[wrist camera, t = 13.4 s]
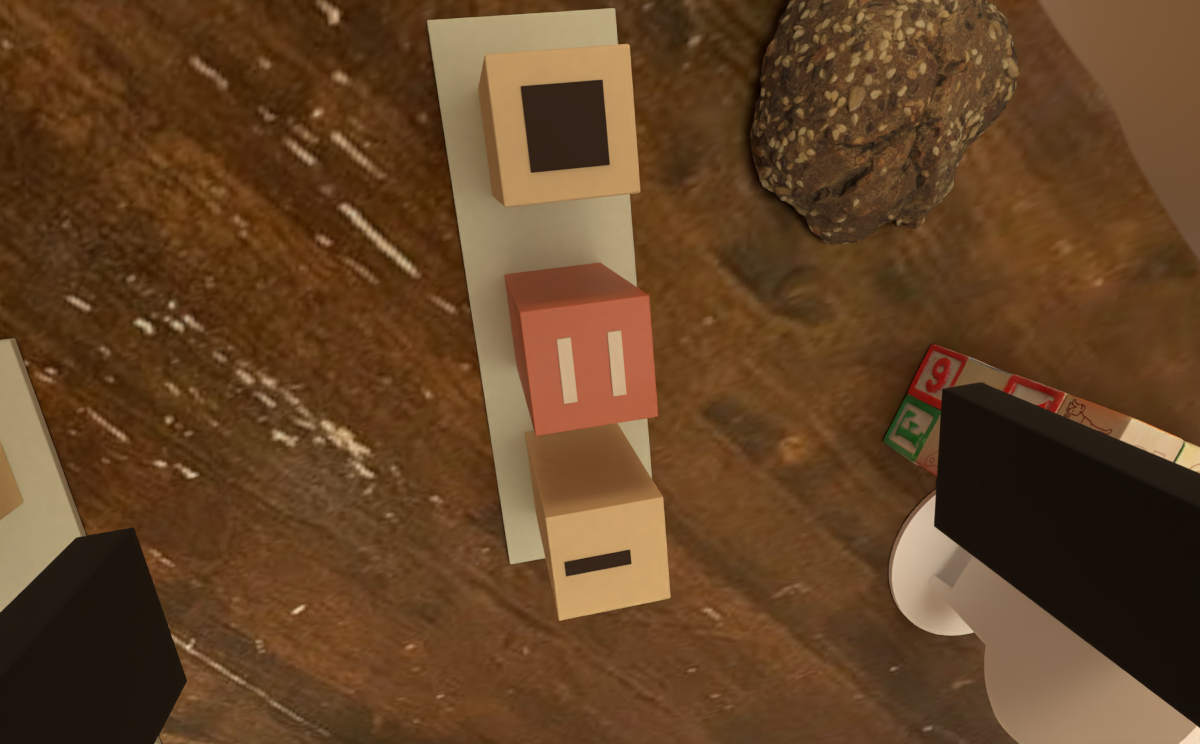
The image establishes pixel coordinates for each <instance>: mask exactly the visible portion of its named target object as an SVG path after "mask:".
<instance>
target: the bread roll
mask: <svg viewBox="0 0 1200 744" xmlns="http://www.w3.org/2000/svg"><path fill="white" fill-rule="evenodd" d="M1014 44H1015V43H1014V41H1013V40H1012V36H1011V35H1010V34H1009V32H1008V27H1007V18H1006V17H1005V16H1004V15H1003V14H1002V13H1001V12H999V11H997V10H996V7H995V6H994V5H993V4H992V3H991V4H987V0H788V6H787V8H786V10H785V12H784V14H783V15H782V16H781V18H780V19H779V26H778V28H777V31H776V33H775V36H774V38H773V40H772V42H771V43H770V44H769V45H768V47H767V50H766V53H765V55H764V58H763V64H762V69H761V74H762V75H761V78H760V82H761V90H760V97H759V99H758V101H757V102H756V104H755V111H754V121H753V124H752V128H751V133H750V143H751V150H752V156H753V162H754V165H755V167H756V170H757V173H758V176H759V179H760V182H761V184H762V186H763V187H764V188H766V189H768V190H769V191H771V192H773V193H774V194H775V195H776V196H777V197H778V198H779V199H780V200H781V201H785V202H786V203H788V204H790V205H791V206H793V208H794V209H795V210H796V211H797V213H798V214H800V215H802V216H804V217H805V219H806V221H807V224H808V226H809V228H810V230H811V231H812V232H813V233H814V234H815V235H817V236H818V237H819V238H820V239H821V240H822V241H824V242H825V243H829V244H831V243H839V244H847V243H850V242H859V241H861V240H862V239H864V238H865V237H866V236H868V235H870V234H872V233H874V232H875V231H876V230H877V229H878V228H880V227H881V226H883V225H884V224H886V223H889V222H891V221H892V222H893V223H894V224H895V226H899V225H904V226H906V227H908V228H913V229H916V228H917V227H919V226H920V225H921V224H922V223H924V220H925V217H926V216H927V214H928V213H929V211H930V210H931V209H933V207H934V206H935V205H937V204H939V203H940V202H942V199H943V197H945V196H946V195H947V194H948V193H949V192H950V191H951V189H952V187H953V186H954V177H955V173H956V169H957V167H958V165H959V163H960V162H961V161H962V156H963V153H964V151H965V150H966V149H967V148H968V147H969V146H970V145H971V144H972V143H973V142H974V141H975V140H977V139H978V138H979V137H980V136H981V135H982V134H983V133H984V132H985V131H986V129H987V128H988V127H989V126H990V125H991V124H992V123H993V122H994V121H995V120H996V119H997V118H998V117H999V116H1000V114H1001V112H1002V111H1003V110H1004V109H1005V108H1006V104H1007V102H1008V100H1010V98H1011V96H1012V95H1013V93H1014V91H1015V88H1016V82H1017V77H1018V76H1019V74H1020V73H1019V71H1018V63H1017V50H1016V49H1015V48H1014Z"/></svg>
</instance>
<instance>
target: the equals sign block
mask: <svg viewBox="0 0 1200 744" xmlns="http://www.w3.org/2000/svg"><path fill="white" fill-rule="evenodd" d="M504 277H505V285H506V292H507V299H508V307H509V314H510V321H511V329H512V336H513V343H514V351H515V358H516V365H517V370H518V374H519V377H520V381H521V385H522V388H523V392H524V396H525V399H526V403H527V407H528V410H529V414H530V417H531V421H532V425H533V428H534V432H535V435H536V436H540V435H546V434H552V433H558V432H565V431H571V430H577V429H583V428H590V427H596V426H602V425H608V424H615V423H621V422H627V421H633V420H640V419H646V418H652V417H658V406H657V393H656V379H655V365H654V352H653V338H652V324H651V311H650V297H649V295H648V294H646V293H645V292H643V291H642V290H640V289H639V288H637V287H636V286H635V285H633V284H632V283H630V282H629V281H627V280H626V279H624V278H623V277H621V276H620V275H618V274H617V273H615V272H614V271H612V270H611V269H609V268H608V267H606V266H605V265H603V264H602V263H592V264H584V265H576V266H568V267H559V268H551V269H543V270H535V271H527V272H519V273H511V274H505V275H504Z"/></svg>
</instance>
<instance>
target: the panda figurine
mask: <svg viewBox="0 0 1200 744" xmlns="http://www.w3.org/2000/svg"><path fill="white" fill-rule="evenodd" d="M935 499H936V489H935V490H934V491H933V492H931V493H930V494H929V495H928V496H927V497H926V498H925V499H923V500H922V501H921V502H920V503H919V505H918V506H917V507H916V508H915V509H914V510H913V511H912V513H911V514H910V515H909V517H908V518H907V519H906V521H905V523H904V524H903V526H902V527H901V529H900V531H899V533H898V535H897V538H896V540H895V542H894V545H893V548H892V552H891V556H890V561H889V585H890V589H891V593H892V596H893V599H894V601H895V603H896V605H897V606H898V608H899V609H900V611H901V612H902V613H903V614H904V615H905V616H906V617H907V618H908V619H909V620H910V621H911V622H912V623H913V624H915V625H916V626H918V627H919V628H921V629H923V630H925V631H928V632H931V633H935V634H939V635H951V636H953V635H964V634H969V633H973V632H974V633H975V634H976V635H977V636H978V637H979V638H980V639H981V641H982V642H983V643H984V644H985V646H986V649H985V658H984V675H985V683H986V689H987V693H988V697H989V700H990V703H991V706H992V709H993V711H994V714H995V716H996V718H997V720H998V722H999V723H1000V724H1001V726H1002V727H1003V728H1004V729H1005V731H1006V732H1007V733H1008V734H1009V735H1010V736H1011V737H1012V738H1013V739H1015V740H1016V741H1017V742H1018V743H1019V744H1200V728H1199V727H1198V726H1197V725H1195V724H1194V723H1193V722H1191V721H1190V720H1189V719H1187V718H1186V717H1185V716H1183V715H1182V714H1181V713H1179V712H1178V711H1177V710H1175V709H1174V708H1173V707H1172V706H1170V705H1169V704H1168V703H1166V702H1165V701H1164V700H1162V699H1161V698H1160V697H1158V696H1157V695H1156V694H1154V693H1153V692H1152V691H1150V690H1149V689H1148V688H1146V687H1145V686H1144V685H1143V684H1141V683H1140V682H1139V681H1137V680H1136V679H1135V678H1133V677H1132V676H1131V675H1129V674H1128V673H1127V672H1125V671H1124V670H1123V669H1121V668H1120V667H1119V666H1117V665H1116V664H1115V663H1113V662H1112V661H1111V660H1110V659H1108V658H1107V657H1106V656H1104V655H1103V654H1102V653H1100V652H1099V651H1098V650H1096V649H1095V648H1094V647H1092V646H1091V645H1090V644H1088V643H1087V642H1086V641H1084V640H1083V639H1082V638H1081V637H1079V636H1078V635H1077V634H1075V633H1074V632H1073V631H1071V630H1070V629H1069V628H1067V627H1066V626H1065V625H1063V624H1062V623H1061V622H1059V621H1058V620H1057V619H1055V618H1054V617H1053V616H1052V615H1050V614H1049V613H1048V612H1046V611H1045V610H1044V609H1042V608H1041V607H1040V606H1038V605H1037V604H1036V603H1034V602H1033V601H1032V600H1030V599H1029V598H1028V597H1026V596H1025V595H1024V594H1023V593H1021V592H1020V591H1019V590H1017V589H1016V588H1015V587H1013V586H1012V585H1011V584H1009V583H1008V582H1007V581H1005V580H1004V579H1003V578H1001V577H1000V576H999V575H997V574H996V573H995V572H994V571H992V570H991V569H990V568H988V567H987V566H986V565H984V564H983V563H982V562H980V561H979V560H978V559H976V558H975V557H974V556H972V555H971V554H970V553H968V552H967V551H966V550H965V549H963V548H962V547H961V546H959V545H958V544H957V543H955V542H954V541H953V540H951V539H950V538H949V537H947V536H946V535H945V534H943V533H942V532H941V531H939V530H938V529H937V528H936V527H934V515H935Z"/></svg>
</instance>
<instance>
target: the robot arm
mask: <svg viewBox="0 0 1200 744" xmlns="http://www.w3.org/2000/svg"><path fill="white" fill-rule="evenodd" d="M934 527H936V528H937V529H938V530H939V531H941V532H942V533H943V534H945V535H946V536H947V537H949V538H950V539H951V540H953V541H954V542H955V543H957V544H958V545H959V546H961V547H962V548H963V549H965V550H966V551H967V552H968V553H970V554H971V555H972V556H974V557H975V558H976V559H978V560H979V561H980V562H982V563H983V564H984V565H986V566H987V567H988V568H990V569H991V570H992V571H994V572H995V573H996V574H997V575H999V576H1000V577H1001V578H1003V579H1004V580H1005V581H1007V582H1008V583H1009V584H1011V585H1012V586H1013V587H1015V588H1016V589H1017V590H1019V591H1020V592H1021V593H1023V594H1024V595H1025V596H1026V597H1028V598H1029V599H1030V600H1032V601H1033V602H1034V603H1036V604H1037V605H1038V606H1040V607H1041V608H1042V609H1044V610H1045V611H1046V612H1048V613H1049V614H1050V615H1052V616H1053V617H1054V618H1055V619H1057V620H1058V621H1059V622H1061V623H1062V624H1063V625H1065V626H1066V627H1067V628H1069V629H1070V630H1071V631H1073V632H1074V633H1075V634H1077V635H1078V636H1079V637H1081V638H1082V639H1083V640H1084V641H1086V642H1087V643H1088V644H1090V645H1091V646H1092V647H1094V648H1095V649H1096V650H1098V651H1099V652H1100V653H1102V654H1103V655H1104V656H1106V657H1107V658H1108V659H1110V660H1111V661H1112V662H1113V663H1115V664H1116V665H1117V666H1119V667H1120V668H1121V669H1123V670H1124V671H1125V672H1127V673H1128V674H1129V675H1131V676H1132V677H1133V678H1135V679H1136V680H1137V681H1139V682H1140V683H1141V684H1143V685H1144V686H1145V687H1146V688H1148V689H1149V690H1150V691H1152V692H1153V693H1154V694H1156V695H1157V696H1158V697H1160V698H1161V699H1162V700H1164V701H1165V702H1166V703H1168V704H1169V705H1170V706H1172V707H1173V708H1174V709H1175V710H1177V711H1178V712H1179V713H1181V714H1182V715H1183V716H1185V717H1186V718H1187V719H1189V720H1190V721H1191V722H1193V723H1194V724H1195V725H1197V726H1198V727H1199V728H1200V473H1198V472H1196V471H1193V470H1191V469H1188V468H1186V467H1184V466H1181V465H1179V464H1176V463H1174V462H1172V461H1169V460H1167V459H1164V458H1162V457H1160V456H1157V455H1155V454H1152V453H1150V452H1148V451H1145V450H1143V449H1140V448H1138V447H1136V446H1133V445H1131V444H1128V443H1126V442H1124V441H1121V440H1119V439H1116V438H1114V437H1112V436H1109V435H1107V434H1104V433H1102V432H1100V431H1097V430H1095V429H1092V428H1090V427H1088V426H1085V425H1083V424H1080V423H1078V422H1076V421H1073V420H1071V419H1068V418H1066V417H1064V416H1061V415H1059V414H1056V413H1054V412H1052V411H1049V410H1047V409H1044V408H1042V407H1040V406H1037V405H1035V404H1032V403H1030V402H1028V401H1025V400H1023V399H1020V398H1018V397H1016V396H1013V395H1011V394H1008V393H1006V392H1004V391H1001V390H999V389H996V388H994V387H992V386H989V385H987V384H984V383H982V382H978V383H973V384H967V385H961V386H955V387H949V388H943V389H942V401H941V417H940V434H939V450H938V466H937V482H936V499H935V515H934ZM186 682H187V679H186V677H185V674H184V671H183V668H182V665H181V662H180V659H179V656H178V653H177V651H176V648H175V645H174V642H173V639H172V636H171V633H170V630H169V627H168V625H167V622H166V619H165V616H164V613H163V610H162V607H161V604H160V601H159V599H158V596H157V593H156V590H155V587H154V584H153V581H152V578H151V575H150V573H149V570H148V567H147V564H146V561H145V558H144V555H143V552H142V549H141V547H140V544H139V541H138V538H137V535H136V532H135V529H134V528H129V529H123V530H117V531H111V532H105V533H100V534H94V535H88V536H82V537H76V538H75V539H74V540H73V541H72V542H71V543H70V544H69V545H68V546H67V547H66V548H65V549H64V550H63V551H62V552H61V553H60V554H59V555H58V556H57V557H56V558H55V559H54V560H53V561H52V562H51V563H50V564H49V565H48V566H47V567H46V568H45V569H44V570H43V571H42V572H41V573H40V574H39V575H38V576H37V577H36V578H35V579H34V580H33V581H32V582H31V583H30V584H29V585H28V586H27V587H26V588H25V589H24V590H23V591H22V592H21V593H20V594H18V595H17V596H16V597H15V598H14V599H13V600H12V601H11V602H10V603H9V604H8V605H7V606H6V607H5V608H4V609H3V610H2V611H1V612H0V744H154V743H155V742H156V740H157V738H158V736H159V734H160V732H161V730H162V728H163V726H164V724H165V722H166V720H167V718H168V716H169V715H170V713H171V711H172V709H173V707H174V705H175V703H176V701H177V699H178V697H179V695H180V693H181V691H182V689H183V688H184V686H185V684H186Z"/></svg>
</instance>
